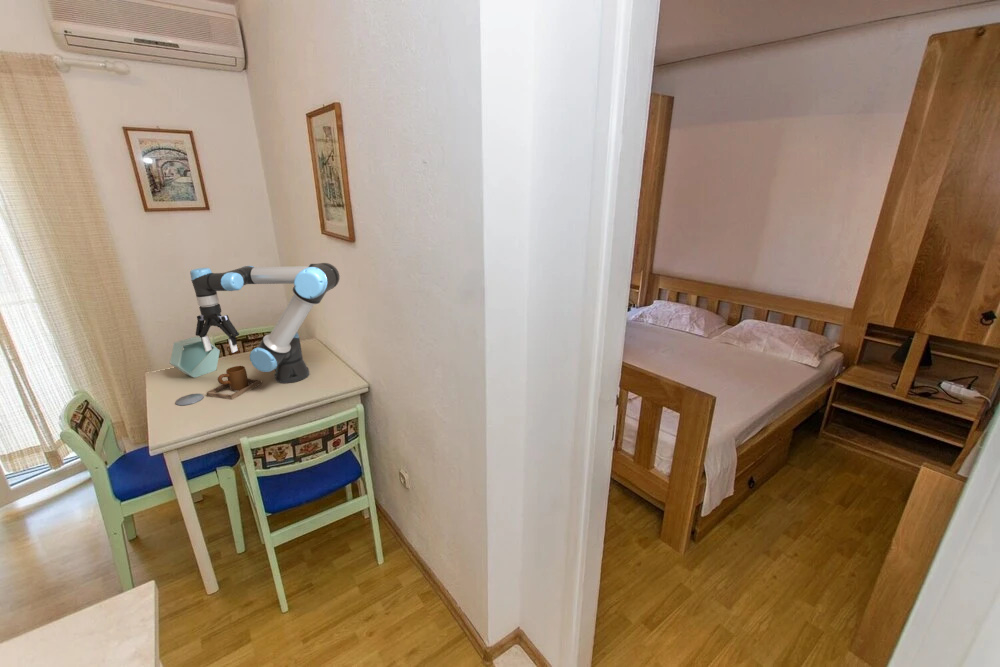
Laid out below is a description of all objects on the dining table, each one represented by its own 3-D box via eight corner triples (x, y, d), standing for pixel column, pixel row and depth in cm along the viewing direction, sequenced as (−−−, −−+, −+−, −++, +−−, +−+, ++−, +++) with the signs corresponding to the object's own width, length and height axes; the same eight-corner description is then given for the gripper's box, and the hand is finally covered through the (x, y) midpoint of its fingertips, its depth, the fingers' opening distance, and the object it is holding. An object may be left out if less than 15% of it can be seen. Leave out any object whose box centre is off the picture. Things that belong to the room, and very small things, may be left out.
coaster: (209, 396, 191) (208, 394, 191) (188, 406, 182) (188, 405, 182) (191, 393, 194) (191, 392, 194) (170, 404, 185) (169, 402, 184)
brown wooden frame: (261, 383, 203) (260, 379, 202) (232, 399, 188) (231, 395, 187) (238, 380, 206) (237, 377, 206) (207, 396, 191) (206, 392, 190)
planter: (203, 384, 214) (168, 359, 199) (195, 380, 218) (159, 356, 203) (228, 357, 222) (196, 331, 207) (219, 354, 226) (187, 329, 211)
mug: (226, 396, 190) (221, 377, 187) (216, 393, 194) (211, 374, 191) (252, 386, 200) (248, 367, 197) (243, 382, 204) (238, 364, 200)
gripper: (240, 302, 186) (252, 349, 193) (192, 302, 191) (205, 347, 198) (227, 307, 179) (239, 355, 186) (177, 306, 185) (191, 353, 191)
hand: (221, 351), depth 192 cm, fingers open, 13 cm apart
